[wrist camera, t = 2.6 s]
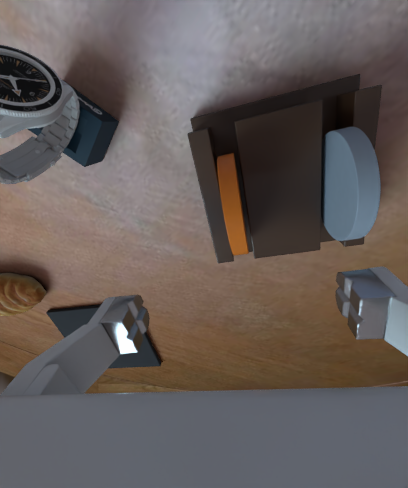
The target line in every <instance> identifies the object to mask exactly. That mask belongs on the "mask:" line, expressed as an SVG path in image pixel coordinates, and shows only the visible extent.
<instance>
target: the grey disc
mask: <svg viewBox="0 0 408 488" xmlns="http://www.w3.org/2000/svg"><path fill="white" fill-rule="evenodd" d="M380 186H381V185H380V173H379V166H378V161H377V157H376V154H375V151H374V148H373V146H372V144H371V142H370V140H369V138H368V137H367V136H366V134H365V133H364V132H363V131H362V130H360V129H358V128H356V127H347V128H342V129H338V130H333V131H330V132H328V133H327V134H326V135H325V136H324V137H323V139H322V162H321V218H322V221H323V223H324V226H325V228H326V229H327V231H328V233H329V234H330V235H331V236H332V237H333V238H334V239H336V240H338V241H344V240H352V239H358V238H362V237H364V236H365V235H366V234H367V233H368V232H369V231H370V230H371V228H372V226H373V224H374V222H375V219H376V217H377V213H378V209H379V203H380Z"/></svg>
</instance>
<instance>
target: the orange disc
mask: <svg viewBox="0 0 408 488" xmlns="http://www.w3.org/2000/svg"><path fill="white" fill-rule="evenodd" d="M217 167H218V179H219V187H220V195H221V201H222V208H223V214H224V219H225V225H226V230H227V235H228V239H229V243H230V247H231V250H232V253H233V255H241V254H248V253H249V250H248V243H247V236H246V229H245V222H244V215H243V208H242V202H241V195H240V189H239V182H238V176H237V170H236V163H235V158H234V153H231V154H227V155H222V156H218V159H217Z"/></svg>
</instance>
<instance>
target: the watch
mask: <svg viewBox="0 0 408 488" xmlns="http://www.w3.org/2000/svg"><path fill="white" fill-rule="evenodd" d="M118 123H119V121H118V120H116V119H115V118H114V117H112V116H111V115H110V114H108V113H107V112H106V111H104V110H103V109H101V108H100V107H99V106H97V105H96V104H95V103H93V102H92V101H91V100H89V99H88V98H86V97H85V96H84V95H82V94H81V93H80V92H78V91H77V90H76V89H74V88H73V87H71V86H70V85H69V84H67V83H66V82H65V81H63V80H61V79H60V78H59V77H58V75H57V74H56V73H55V72H54V70H52V69H51V68H50V67H49V66H48V65H47V64H45V63H44V62H43V61H41V60H39V59H38V58H36V57H34V56H32V55H31V54H29V53H27V52H24V51H21V50H19V49H16V48H13V47H8V46H4V45H0V137H1V138H6V137H9V136H11V135H13V134H15V133H17V132H19V131H21V130H23V129H28V130H30V131H31V132H33V133H34V134H36V135H37V138H35V137H31V138H29V139H28V140H27V141H25V142H24V143H23V144H21V145H20V146H18V147H16V148H15V149H13V150H11V151H9V152H7V153H5V154H2V155H0V182H1V183H4V184H16V183H19V182H22V181H25V182H28V181H30V180H32V179H33V178H35V177H37V176H38V175H40V174H41V173H43V172H44V171H46V170H47V169H48V168H50V167H51V166H53V165H55V163H56V162H57V161H58V160H59V159H60V158H61V157H62V156H61V155H60V154H61V153H62V152H63V153H64V154H66V155H67V156H69V157H70V158H72V159H73V160H75V161H76V162H78V163H79V164H81V165H82V166H84V167H86V166H89V165H92V164H95V163H98V162H101V161H102V160H103V158H104V155H105V153H106V151H107V148H108V146H109V144H110V141H111V139H112V137H113V134H114V132H115V130H116V128H117V125H118Z"/></svg>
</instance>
